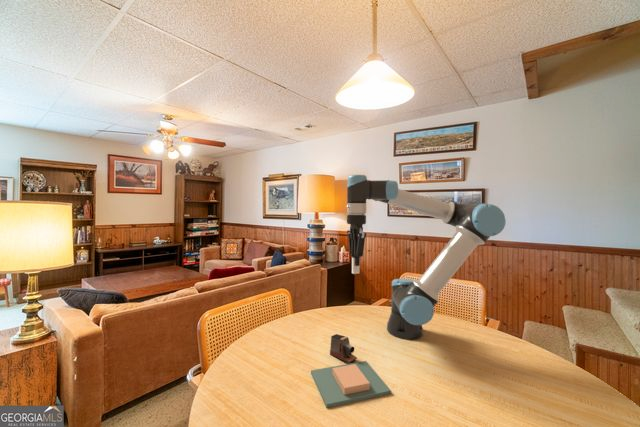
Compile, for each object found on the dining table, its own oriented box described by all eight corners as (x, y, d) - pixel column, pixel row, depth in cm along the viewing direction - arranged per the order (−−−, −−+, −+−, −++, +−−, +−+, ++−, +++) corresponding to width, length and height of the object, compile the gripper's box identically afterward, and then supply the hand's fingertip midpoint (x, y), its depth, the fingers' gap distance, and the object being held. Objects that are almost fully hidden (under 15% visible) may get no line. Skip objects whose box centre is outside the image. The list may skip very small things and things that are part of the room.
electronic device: (349, 365, 94) (349, 344, 94) (329, 355, 101) (329, 334, 100) (357, 360, 97) (357, 339, 97) (336, 350, 104) (337, 331, 104)
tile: (355, 364, 89) (369, 383, 80) (355, 370, 89) (369, 390, 80) (332, 368, 87) (344, 388, 77) (332, 374, 87) (344, 395, 77)
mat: (366, 363, 95) (366, 360, 95) (390, 393, 80) (391, 390, 80) (310, 373, 89) (310, 370, 89) (326, 407, 74) (326, 404, 74)
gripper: (341, 213, 113) (340, 270, 113) (354, 214, 100) (353, 278, 101) (358, 213, 115) (357, 269, 116) (372, 214, 103) (371, 276, 103)
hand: (355, 273), depth 108 cm, fingers closed
